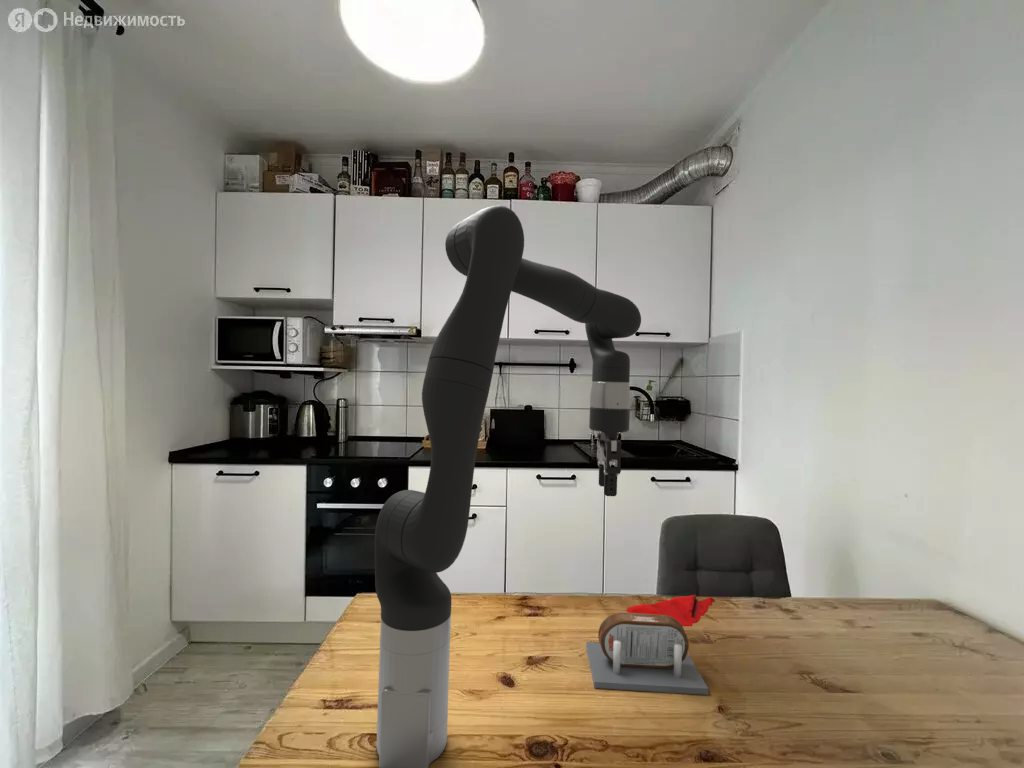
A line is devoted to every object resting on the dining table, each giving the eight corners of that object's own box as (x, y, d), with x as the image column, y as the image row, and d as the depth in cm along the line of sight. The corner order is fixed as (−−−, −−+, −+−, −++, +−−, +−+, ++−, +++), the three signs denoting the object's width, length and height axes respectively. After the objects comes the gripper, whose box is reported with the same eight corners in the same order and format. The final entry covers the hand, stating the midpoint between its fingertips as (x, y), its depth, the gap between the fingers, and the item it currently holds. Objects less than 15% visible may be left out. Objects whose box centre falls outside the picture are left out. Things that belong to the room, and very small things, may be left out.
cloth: (628, 633, 95) (629, 622, 95) (604, 602, 108) (604, 592, 108) (745, 626, 99) (746, 615, 99) (707, 597, 113) (708, 587, 113)
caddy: (708, 695, 75) (709, 657, 75) (594, 688, 76) (595, 650, 76) (684, 652, 87) (685, 620, 87) (586, 647, 88) (587, 614, 88)
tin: (684, 662, 83) (685, 613, 83) (690, 673, 79) (691, 622, 79) (597, 657, 83) (598, 609, 83) (599, 667, 80) (601, 617, 80)
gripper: (637, 408, 83) (634, 500, 83) (623, 405, 98) (620, 484, 97) (594, 406, 84) (591, 498, 84) (586, 404, 98) (584, 482, 98)
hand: (607, 490), depth 91 cm, fingers open, 8 cm apart
